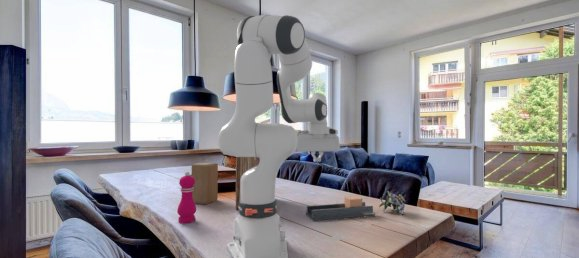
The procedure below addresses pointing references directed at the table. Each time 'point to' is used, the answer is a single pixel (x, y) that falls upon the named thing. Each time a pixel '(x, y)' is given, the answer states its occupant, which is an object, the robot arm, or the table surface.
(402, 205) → the grey-green leafy rounded clump
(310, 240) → the table surface
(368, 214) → the chute
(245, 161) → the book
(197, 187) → the wooden block
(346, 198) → the block
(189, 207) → the pepper mill
